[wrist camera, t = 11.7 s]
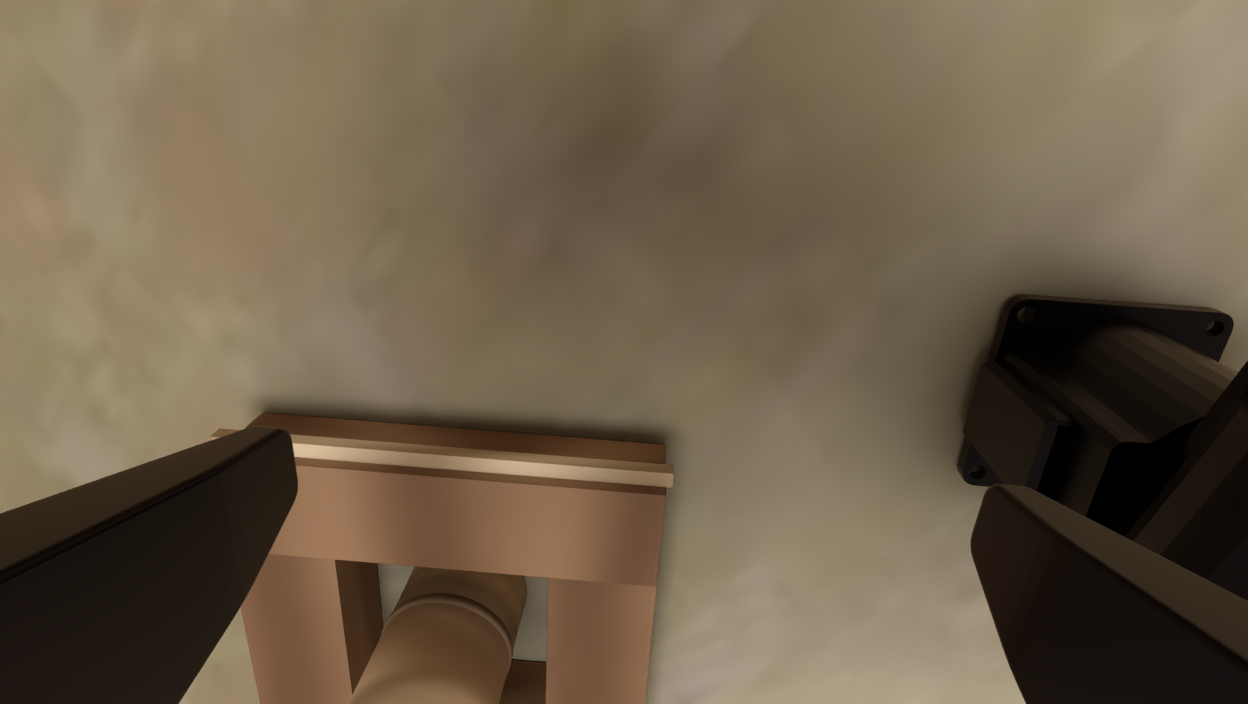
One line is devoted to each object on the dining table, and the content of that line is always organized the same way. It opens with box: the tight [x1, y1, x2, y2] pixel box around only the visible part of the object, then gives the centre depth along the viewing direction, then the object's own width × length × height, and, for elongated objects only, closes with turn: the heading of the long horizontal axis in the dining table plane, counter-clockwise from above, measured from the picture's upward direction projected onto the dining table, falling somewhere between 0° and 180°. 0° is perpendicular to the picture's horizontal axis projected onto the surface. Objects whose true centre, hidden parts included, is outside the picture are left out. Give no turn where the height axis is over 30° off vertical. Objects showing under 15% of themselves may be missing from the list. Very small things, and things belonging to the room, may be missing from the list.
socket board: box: [210, 413, 674, 704], centre depth 25 cm, size 14×15×3 cm
